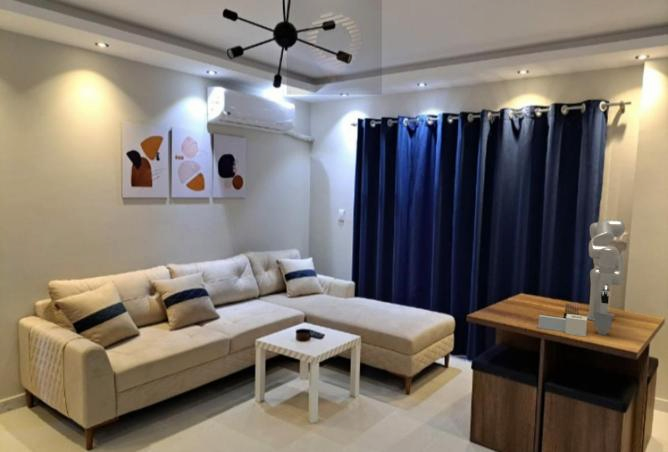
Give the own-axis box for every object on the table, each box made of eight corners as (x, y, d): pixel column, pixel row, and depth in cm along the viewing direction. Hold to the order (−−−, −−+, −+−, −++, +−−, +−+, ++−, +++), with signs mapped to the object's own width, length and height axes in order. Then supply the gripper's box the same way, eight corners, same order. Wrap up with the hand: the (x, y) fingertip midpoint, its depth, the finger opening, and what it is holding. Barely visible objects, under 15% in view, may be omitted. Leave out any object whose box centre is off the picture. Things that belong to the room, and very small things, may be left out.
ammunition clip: (563, 320, 287) (564, 301, 286) (565, 320, 288) (566, 301, 287) (575, 326, 277) (577, 305, 276) (578, 326, 277) (580, 305, 276)
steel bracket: (593, 332, 266) (595, 312, 265) (610, 334, 262) (611, 314, 261) (593, 333, 264) (595, 314, 263) (610, 336, 260) (612, 316, 259)
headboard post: (539, 325, 277) (540, 310, 276) (585, 332, 265) (587, 316, 265) (537, 329, 269) (538, 313, 268) (585, 336, 257) (586, 320, 257)
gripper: (598, 267, 269) (596, 297, 270) (599, 271, 254) (596, 303, 255) (614, 269, 266) (611, 299, 267) (615, 273, 250) (613, 305, 252)
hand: (604, 301), depth 261 cm, fingers open, 9 cm apart
